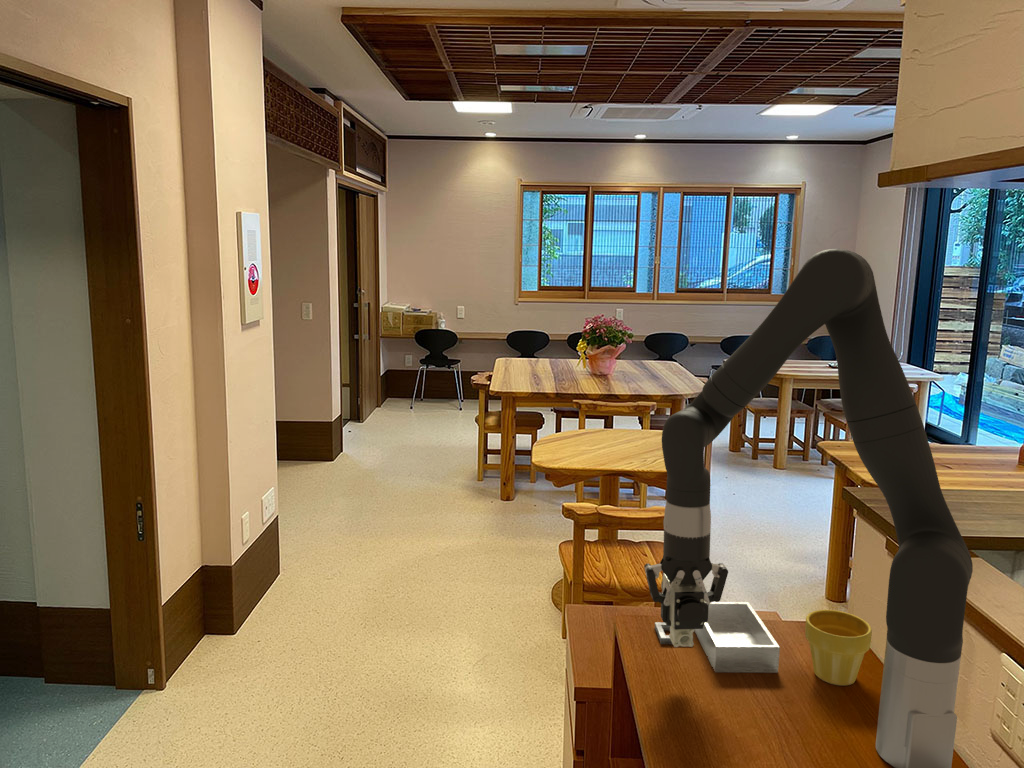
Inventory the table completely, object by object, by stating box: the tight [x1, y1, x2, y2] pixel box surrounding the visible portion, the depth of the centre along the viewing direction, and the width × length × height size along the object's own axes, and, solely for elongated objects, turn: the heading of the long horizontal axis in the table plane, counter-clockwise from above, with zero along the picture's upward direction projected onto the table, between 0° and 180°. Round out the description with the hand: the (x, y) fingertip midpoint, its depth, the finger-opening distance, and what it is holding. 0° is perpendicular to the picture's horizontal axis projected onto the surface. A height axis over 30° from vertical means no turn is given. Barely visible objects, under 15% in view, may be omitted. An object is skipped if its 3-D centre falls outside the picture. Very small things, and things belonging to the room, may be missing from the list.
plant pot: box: [804, 609, 873, 687], centre depth 126 cm, size 10×10×10 cm
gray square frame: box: [654, 621, 673, 645], centre depth 140 cm, size 6×6×1 cm
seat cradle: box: [694, 601, 781, 674], centre depth 135 cm, size 17×11×5 cm, turn 0°
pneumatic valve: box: [661, 571, 708, 648], centre depth 124 cm, size 6×12×12 cm, turn 2°
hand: (684, 623), depth 124 cm, fingers closed on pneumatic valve, 5 cm apart
